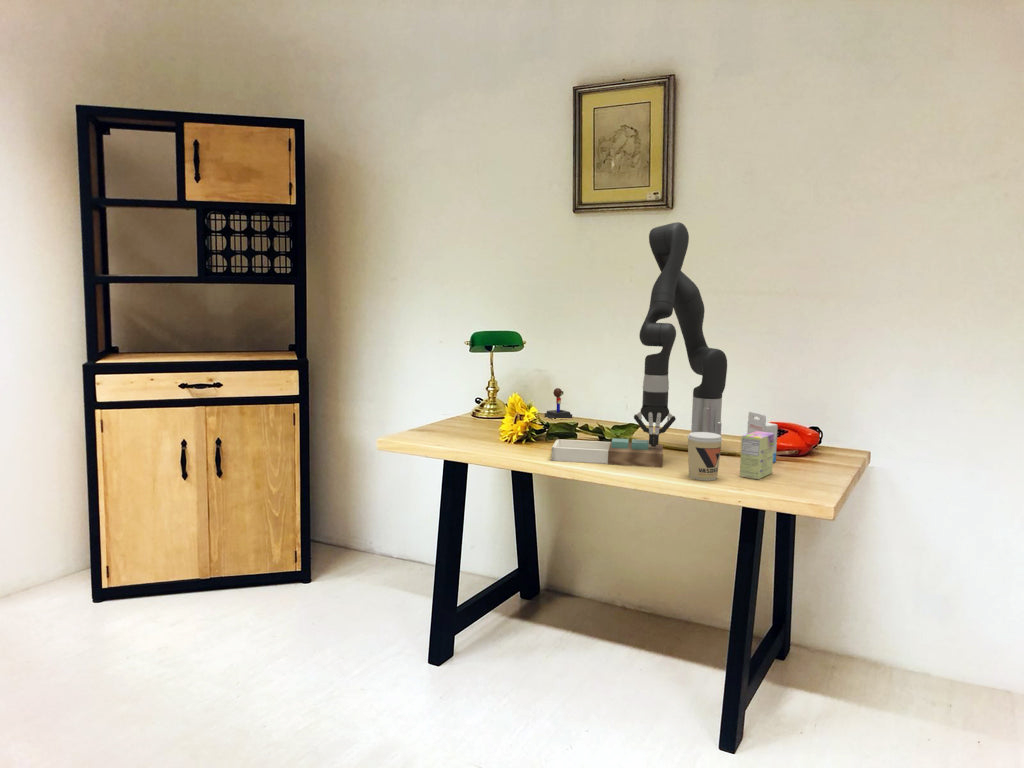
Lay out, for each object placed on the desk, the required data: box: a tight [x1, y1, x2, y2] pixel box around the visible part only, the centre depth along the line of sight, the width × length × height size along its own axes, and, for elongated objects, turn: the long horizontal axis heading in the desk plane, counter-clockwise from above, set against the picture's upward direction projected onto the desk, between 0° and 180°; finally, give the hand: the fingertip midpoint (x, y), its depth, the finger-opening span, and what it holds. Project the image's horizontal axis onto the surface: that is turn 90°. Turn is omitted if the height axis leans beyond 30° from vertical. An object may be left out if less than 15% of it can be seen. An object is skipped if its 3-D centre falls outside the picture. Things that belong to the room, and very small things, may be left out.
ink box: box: [746, 411, 779, 463], centre depth 234 cm, size 9×5×15 cm, turn 21°
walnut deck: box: [607, 441, 664, 468], centre depth 232 cm, size 16×14×4 cm
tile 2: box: [631, 438, 649, 450], centre depth 231 cm, size 5×5×2 cm
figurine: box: [544, 387, 573, 419], centre depth 304 cm, size 8×8×12 cm
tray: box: [551, 438, 612, 465], centre depth 235 cm, size 17×13×4 cm
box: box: [739, 431, 774, 480], centre depth 216 cm, size 10×6×12 cm, turn 141°
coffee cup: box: [687, 432, 723, 481], centre depth 212 cm, size 9×9×12 cm
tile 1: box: [611, 437, 630, 449], centre depth 232 cm, size 5×5×2 cm
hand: (653, 446), depth 230 cm, fingers closed
